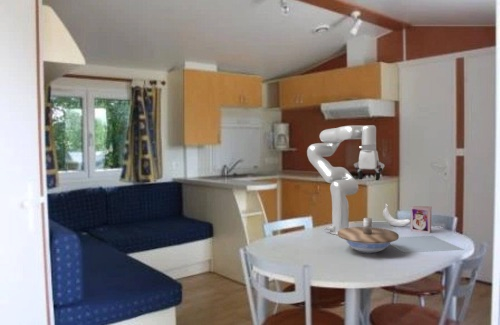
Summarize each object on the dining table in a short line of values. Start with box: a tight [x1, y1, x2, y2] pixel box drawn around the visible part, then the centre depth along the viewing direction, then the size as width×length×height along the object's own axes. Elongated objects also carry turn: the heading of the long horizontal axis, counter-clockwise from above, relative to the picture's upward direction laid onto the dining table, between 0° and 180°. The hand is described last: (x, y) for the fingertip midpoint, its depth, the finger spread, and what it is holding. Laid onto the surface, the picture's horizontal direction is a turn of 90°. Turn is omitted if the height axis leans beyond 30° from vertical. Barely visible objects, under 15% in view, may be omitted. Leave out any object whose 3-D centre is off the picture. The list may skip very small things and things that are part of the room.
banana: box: [382, 202, 411, 228], centre depth 270 cm, size 5×19×15 cm, turn 45°
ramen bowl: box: [345, 240, 391, 254], centre depth 212 cm, size 25×23×8 cm
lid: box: [337, 217, 400, 243], centre depth 212 cm, size 29×29×8 cm
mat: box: [389, 235, 465, 253], centre depth 225 cm, size 31×31×1 cm
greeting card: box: [410, 205, 433, 234], centre depth 254 cm, size 11×7×15 cm, turn 42°
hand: (369, 179), depth 234 cm, fingers open, 9 cm apart
